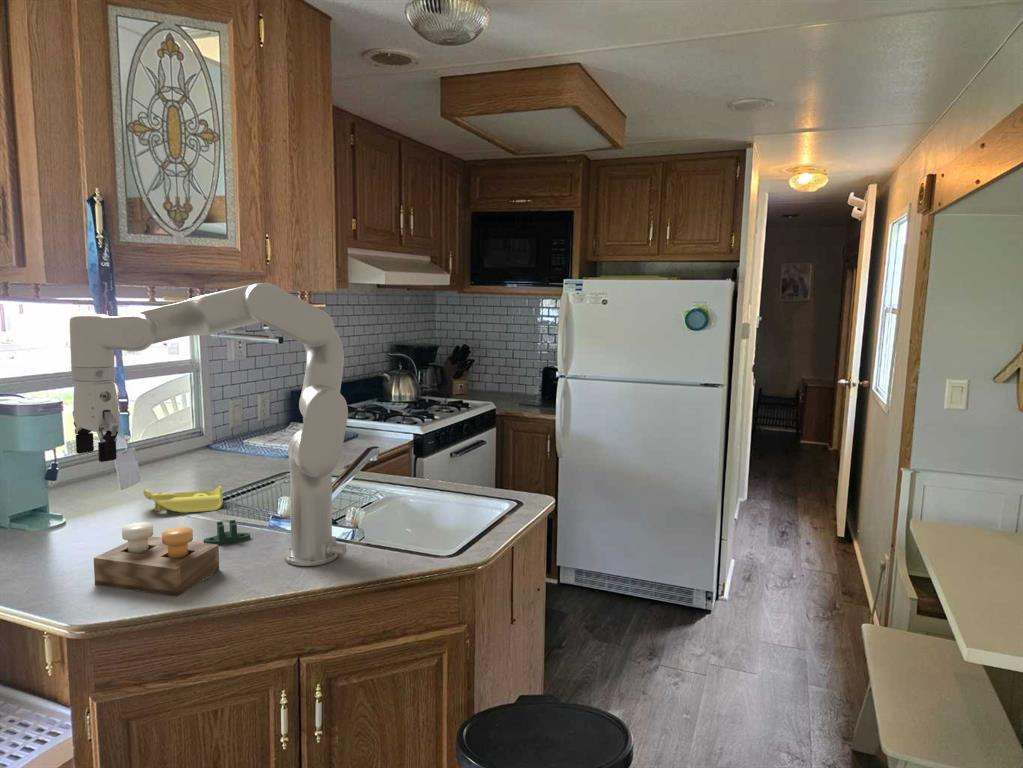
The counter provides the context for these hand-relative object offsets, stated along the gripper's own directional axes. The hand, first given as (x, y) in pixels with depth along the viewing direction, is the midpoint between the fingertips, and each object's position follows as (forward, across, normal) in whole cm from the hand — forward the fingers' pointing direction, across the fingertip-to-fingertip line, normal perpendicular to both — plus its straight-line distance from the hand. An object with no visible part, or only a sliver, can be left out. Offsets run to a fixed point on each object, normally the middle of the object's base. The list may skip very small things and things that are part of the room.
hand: (96, 456), depth 139 cm
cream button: (+23, 0, -8) cm, 25 cm away
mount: (+28, +3, -32) cm, 43 cm away
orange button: (+23, -9, -12) cm, 28 cm away
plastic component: (+29, +35, -39) cm, 60 cm away
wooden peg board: (+28, -5, -10) cm, 30 cm away
